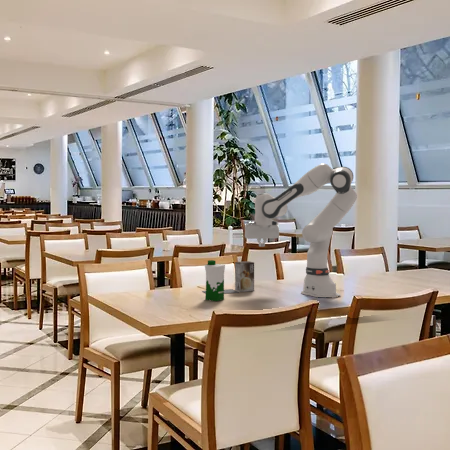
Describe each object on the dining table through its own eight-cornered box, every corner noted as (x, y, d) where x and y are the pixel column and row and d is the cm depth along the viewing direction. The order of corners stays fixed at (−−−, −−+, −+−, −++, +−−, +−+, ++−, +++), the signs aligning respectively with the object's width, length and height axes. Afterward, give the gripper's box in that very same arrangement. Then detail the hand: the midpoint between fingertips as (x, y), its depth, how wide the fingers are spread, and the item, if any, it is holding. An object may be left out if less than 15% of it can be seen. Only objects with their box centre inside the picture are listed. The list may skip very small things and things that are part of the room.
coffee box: (248, 289, 331) (249, 261, 330) (254, 290, 326) (254, 262, 325) (234, 290, 327) (234, 261, 326) (240, 292, 321) (240, 263, 320)
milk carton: (212, 297, 305) (212, 259, 304) (226, 299, 300) (227, 260, 299) (202, 300, 298) (203, 261, 296) (217, 302, 293) (217, 262, 292)
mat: (239, 292, 320) (239, 292, 320) (208, 294, 313) (208, 294, 313) (231, 289, 329) (231, 289, 329) (202, 291, 322) (202, 291, 322)
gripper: (247, 222, 321) (247, 247, 322) (280, 222, 329) (280, 246, 330) (243, 221, 327) (242, 246, 328) (275, 221, 335) (275, 245, 336)
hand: (261, 246), depth 329 cm, fingers closed
